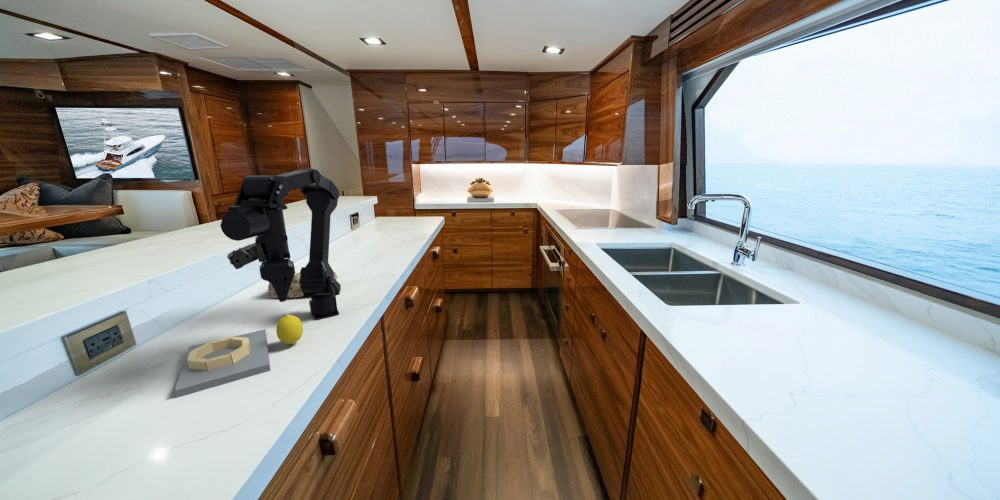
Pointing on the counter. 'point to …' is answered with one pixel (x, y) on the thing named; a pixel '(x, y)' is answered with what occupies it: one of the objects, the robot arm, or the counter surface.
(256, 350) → the plate
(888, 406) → the counter surface
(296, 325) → the lemon
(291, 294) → the rock
